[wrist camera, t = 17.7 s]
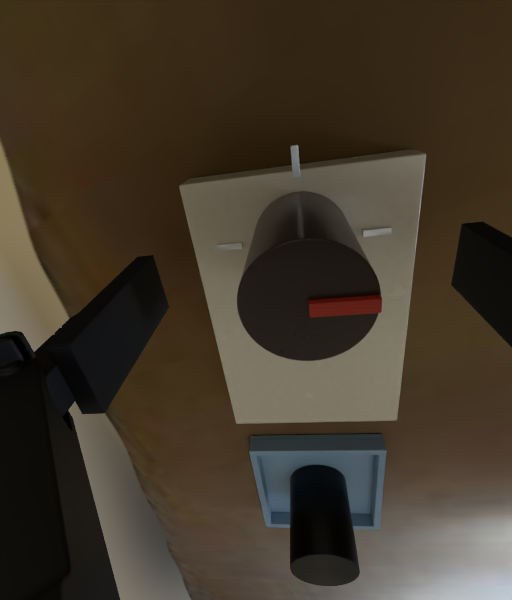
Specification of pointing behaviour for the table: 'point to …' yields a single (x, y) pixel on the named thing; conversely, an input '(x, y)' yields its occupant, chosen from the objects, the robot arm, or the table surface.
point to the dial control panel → (378, 249)
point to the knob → (307, 281)
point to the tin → (321, 527)
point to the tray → (320, 451)
